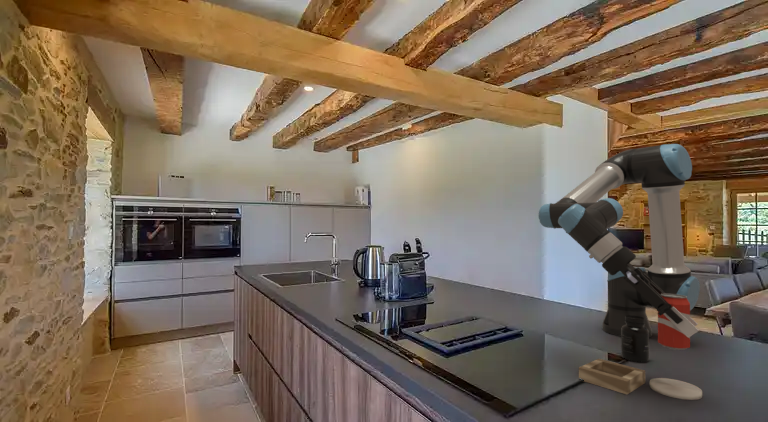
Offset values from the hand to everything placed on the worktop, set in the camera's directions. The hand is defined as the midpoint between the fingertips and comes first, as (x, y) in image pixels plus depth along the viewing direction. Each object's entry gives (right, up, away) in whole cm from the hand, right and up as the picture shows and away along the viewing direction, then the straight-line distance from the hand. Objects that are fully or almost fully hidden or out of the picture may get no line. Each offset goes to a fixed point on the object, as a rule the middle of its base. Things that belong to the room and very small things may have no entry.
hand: (692, 330), depth 93 cm
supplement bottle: (+1, -15, +24) cm, 28 cm away
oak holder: (-15, -15, +7) cm, 22 cm away
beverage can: (-3, -5, +2) cm, 6 cm away
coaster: (-3, -15, +2) cm, 15 cm away
